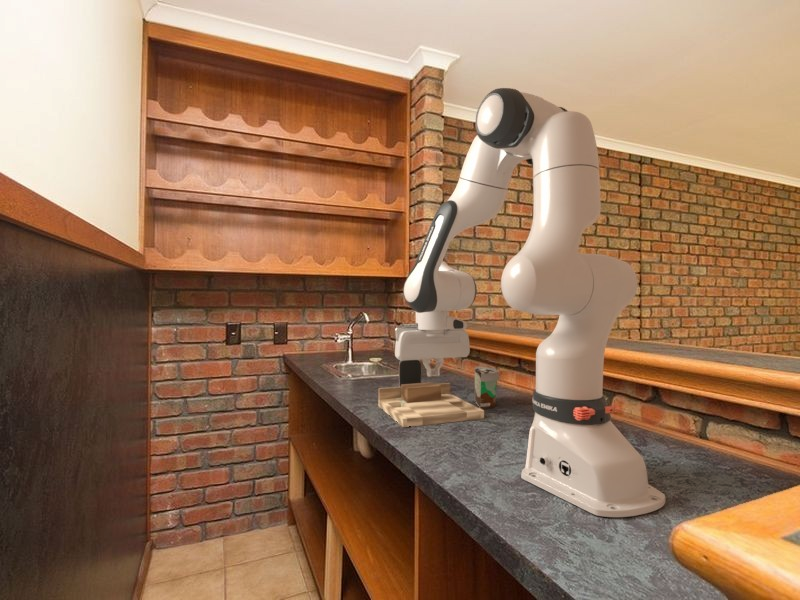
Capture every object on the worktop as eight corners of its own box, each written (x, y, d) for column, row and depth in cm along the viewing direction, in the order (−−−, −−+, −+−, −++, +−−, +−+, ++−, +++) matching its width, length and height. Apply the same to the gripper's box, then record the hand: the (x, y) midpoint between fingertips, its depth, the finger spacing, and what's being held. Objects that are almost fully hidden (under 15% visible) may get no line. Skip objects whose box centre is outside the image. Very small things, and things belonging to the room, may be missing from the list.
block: (440, 400, 117) (441, 385, 117) (407, 403, 114) (407, 388, 114) (433, 395, 122) (433, 382, 122) (401, 398, 119) (401, 384, 119)
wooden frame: (484, 418, 107) (484, 398, 107) (403, 427, 100) (403, 406, 99) (448, 399, 126) (448, 382, 126) (378, 405, 118) (378, 388, 118)
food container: (503, 411, 114) (504, 374, 114) (481, 410, 114) (481, 374, 114) (494, 399, 126) (494, 366, 126) (474, 399, 126) (474, 366, 126)
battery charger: (420, 393, 133) (420, 357, 133) (421, 396, 129) (421, 359, 129) (398, 393, 133) (398, 357, 133) (398, 396, 129) (399, 359, 129)
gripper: (399, 324, 103) (399, 380, 103) (472, 322, 111) (473, 375, 110) (390, 323, 109) (391, 376, 109) (460, 321, 116) (461, 371, 116)
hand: (433, 376), depth 110 cm, fingers closed
